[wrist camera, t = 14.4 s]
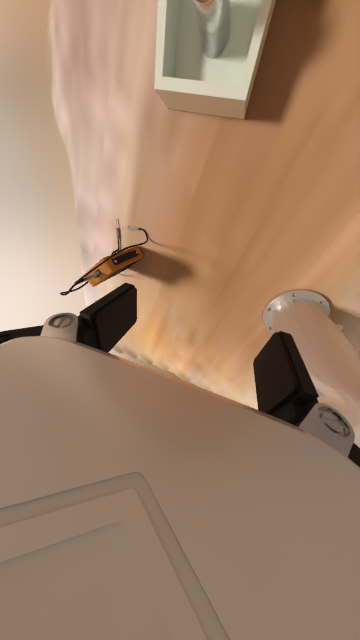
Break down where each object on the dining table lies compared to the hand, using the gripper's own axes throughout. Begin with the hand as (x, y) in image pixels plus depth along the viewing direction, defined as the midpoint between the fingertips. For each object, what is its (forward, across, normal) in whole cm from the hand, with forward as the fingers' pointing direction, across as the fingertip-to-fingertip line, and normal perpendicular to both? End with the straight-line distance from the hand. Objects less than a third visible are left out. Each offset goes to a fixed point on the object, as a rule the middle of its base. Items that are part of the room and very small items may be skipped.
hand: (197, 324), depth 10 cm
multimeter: (+28, +24, +5) cm, 38 cm away
